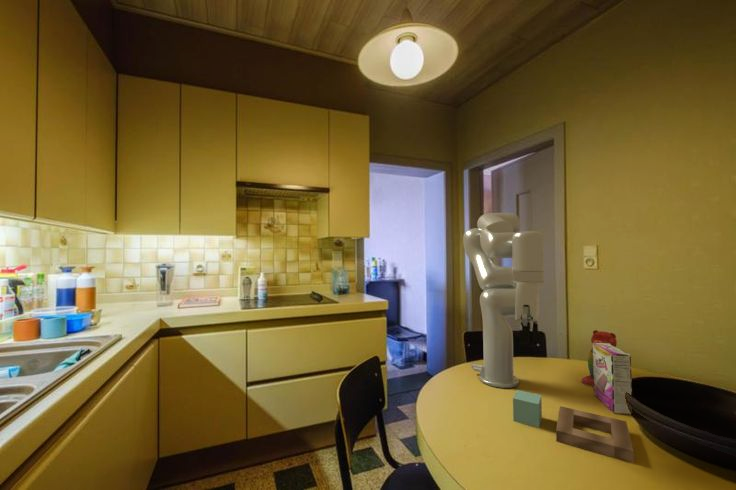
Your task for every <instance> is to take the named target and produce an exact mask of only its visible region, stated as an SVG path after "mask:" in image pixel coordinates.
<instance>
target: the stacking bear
mask: <svg viewBox="0 0 736 490" xmlns="http://www.w3.org/2000/svg"><path fill="white" fill-rule="evenodd" d="M616 338H617V335H616V334H615V333H613V332H608V331H600V330H597V329H595V330H593V331H592V335H591V338H590V339H591V341H590V342H591V344H592V343H609V344H611V345H613V346H615V347H617V343H618V342H617V341H618V340H617V339H616ZM587 358H588V359H587V367H588V370H589V374H590V375H586V376H583V377H582V378H581V379H580V382H581V383H582V384H583V385H585V386H590V387H594V374H593V347H591V348H590V351H589V354H588V357H587Z"/></svg>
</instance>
